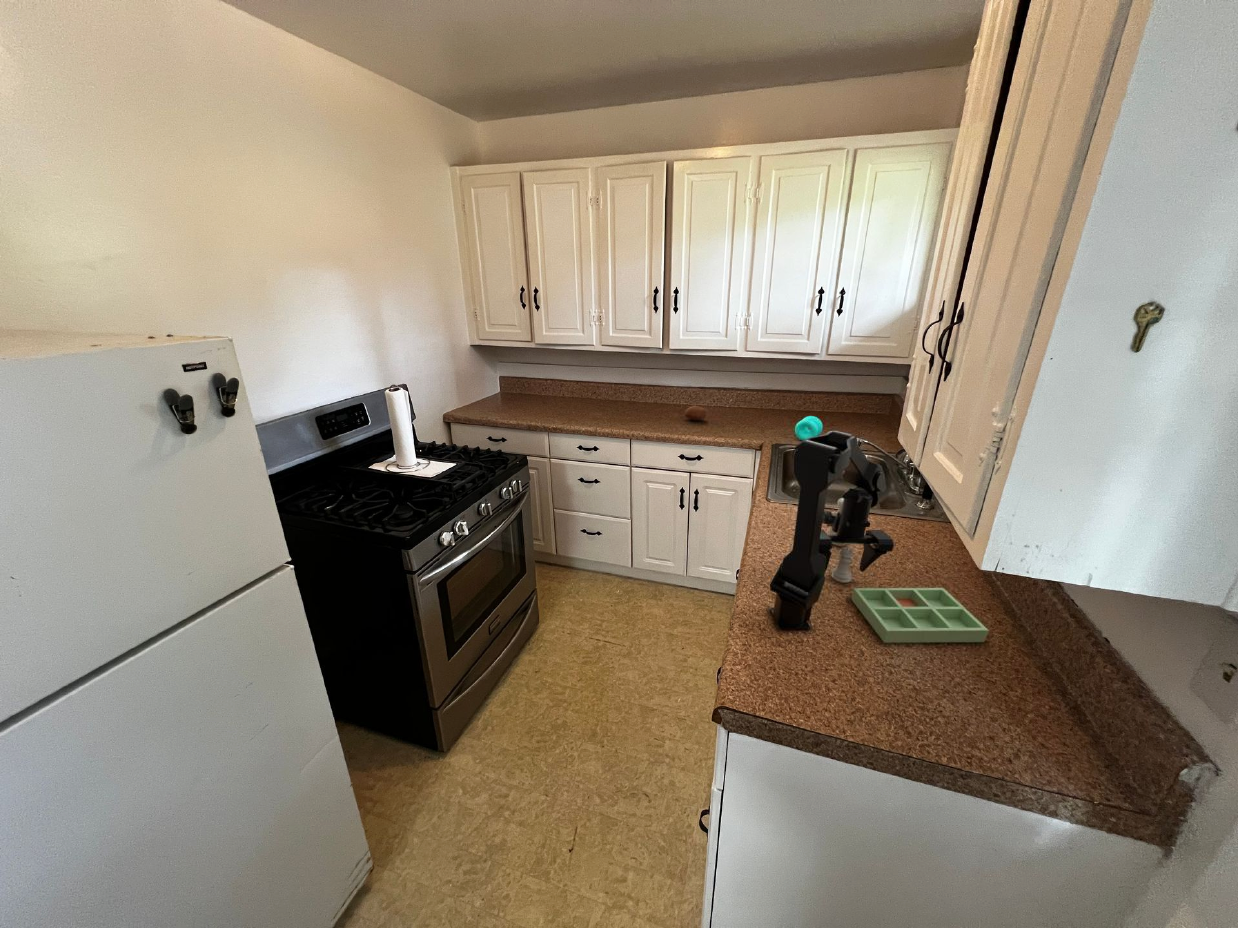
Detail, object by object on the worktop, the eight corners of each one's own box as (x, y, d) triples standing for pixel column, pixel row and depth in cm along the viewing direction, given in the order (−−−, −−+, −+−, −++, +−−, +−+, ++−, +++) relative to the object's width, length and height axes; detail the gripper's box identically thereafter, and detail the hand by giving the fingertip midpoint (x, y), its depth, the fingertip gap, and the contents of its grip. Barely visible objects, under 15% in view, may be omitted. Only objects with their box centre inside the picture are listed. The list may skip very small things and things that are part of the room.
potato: (707, 422, 240) (708, 408, 238) (686, 422, 240) (687, 408, 237) (704, 418, 248) (705, 404, 246) (683, 418, 248) (684, 404, 245)
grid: (884, 642, 96) (887, 630, 95) (851, 598, 109) (853, 587, 108) (984, 642, 97) (988, 630, 95) (939, 598, 110) (943, 587, 108)
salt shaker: (827, 545, 131) (835, 502, 126) (826, 535, 136) (834, 494, 131) (850, 549, 129) (859, 506, 124) (848, 539, 134) (857, 497, 129)
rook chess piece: (834, 570, 119) (839, 543, 117) (853, 577, 117) (859, 549, 114) (828, 578, 116) (834, 550, 113) (847, 586, 114) (854, 557, 111)
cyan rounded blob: (821, 438, 219) (825, 417, 215) (815, 444, 211) (819, 422, 208) (799, 434, 224) (802, 413, 221) (792, 439, 217) (795, 418, 213)
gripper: (876, 498, 118) (863, 552, 123) (801, 498, 117) (792, 552, 123) (902, 519, 107) (887, 578, 113) (820, 519, 107) (809, 578, 113)
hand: (842, 570), depth 116 cm, fingers open, 9 cm apart
